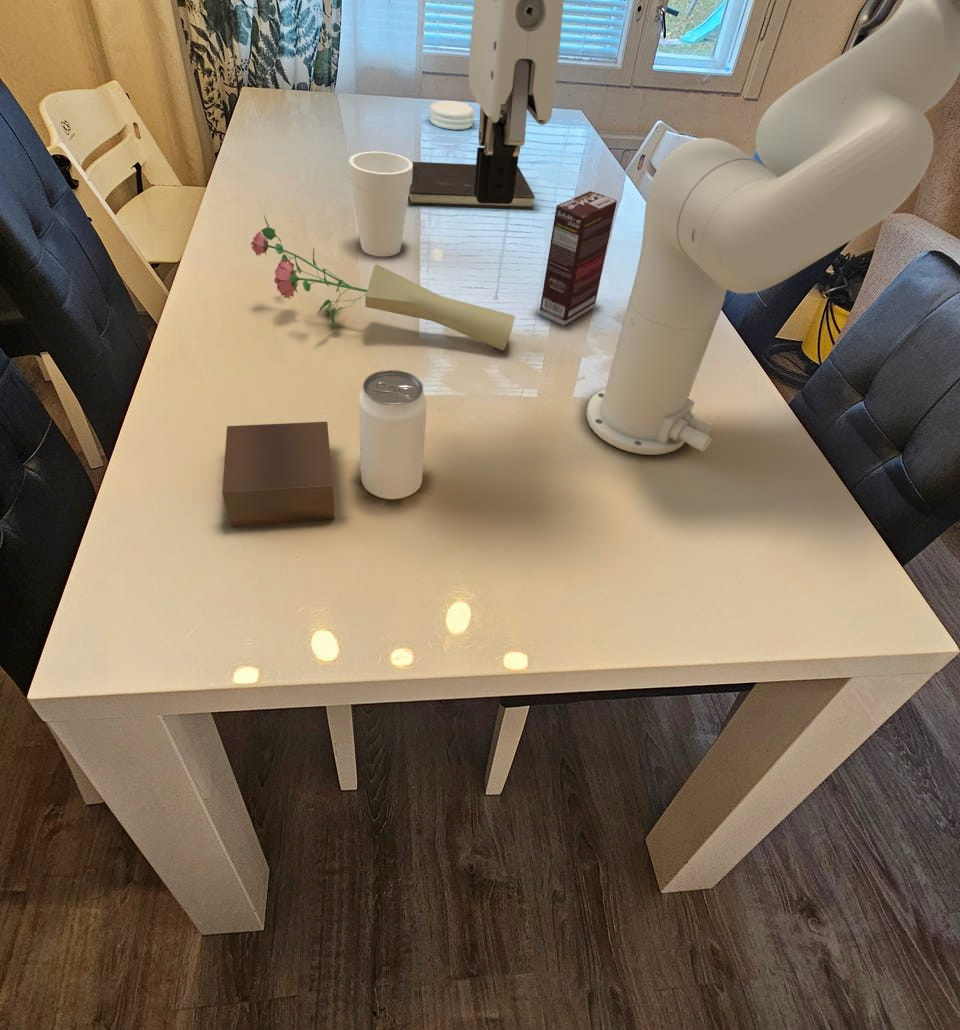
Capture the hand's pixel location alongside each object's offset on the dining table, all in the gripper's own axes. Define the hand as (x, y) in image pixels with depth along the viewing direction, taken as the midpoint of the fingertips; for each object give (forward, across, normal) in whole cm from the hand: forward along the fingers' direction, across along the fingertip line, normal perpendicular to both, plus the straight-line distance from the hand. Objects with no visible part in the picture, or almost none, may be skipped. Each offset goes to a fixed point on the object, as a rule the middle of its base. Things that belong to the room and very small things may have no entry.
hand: (492, 199), depth 62 cm
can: (+27, -6, +9) cm, 29 cm away
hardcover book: (+27, +74, -14) cm, 81 cm away
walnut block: (+27, -6, +20) cm, 35 cm away
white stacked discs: (+27, +115, -18) cm, 119 cm away
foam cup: (+27, +50, +5) cm, 57 cm away
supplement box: (+27, +29, -21) cm, 45 cm away
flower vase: (+27, +24, +7) cm, 37 cm away
